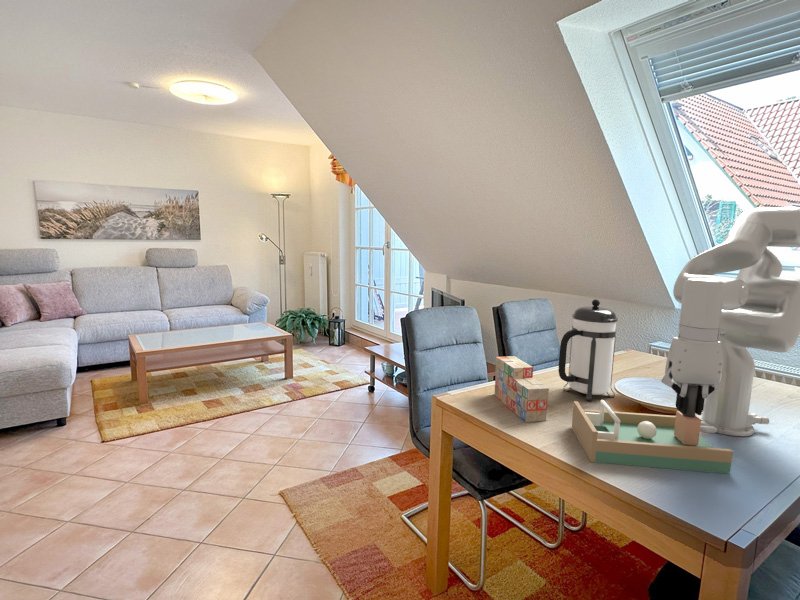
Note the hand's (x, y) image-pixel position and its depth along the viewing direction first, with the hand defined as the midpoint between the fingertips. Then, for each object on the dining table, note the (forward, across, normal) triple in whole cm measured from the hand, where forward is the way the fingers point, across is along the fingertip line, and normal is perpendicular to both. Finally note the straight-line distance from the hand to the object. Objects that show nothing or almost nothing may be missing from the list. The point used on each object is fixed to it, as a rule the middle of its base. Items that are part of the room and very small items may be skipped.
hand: (688, 411), depth 102 cm
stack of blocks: (+10, +35, -22) cm, 42 cm away
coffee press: (+10, +12, -35) cm, 39 cm away
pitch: (+10, +9, 0) cm, 13 cm away
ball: (+5, +8, 0) cm, 10 cm away
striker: (+7, -2, 0) cm, 7 cm away
